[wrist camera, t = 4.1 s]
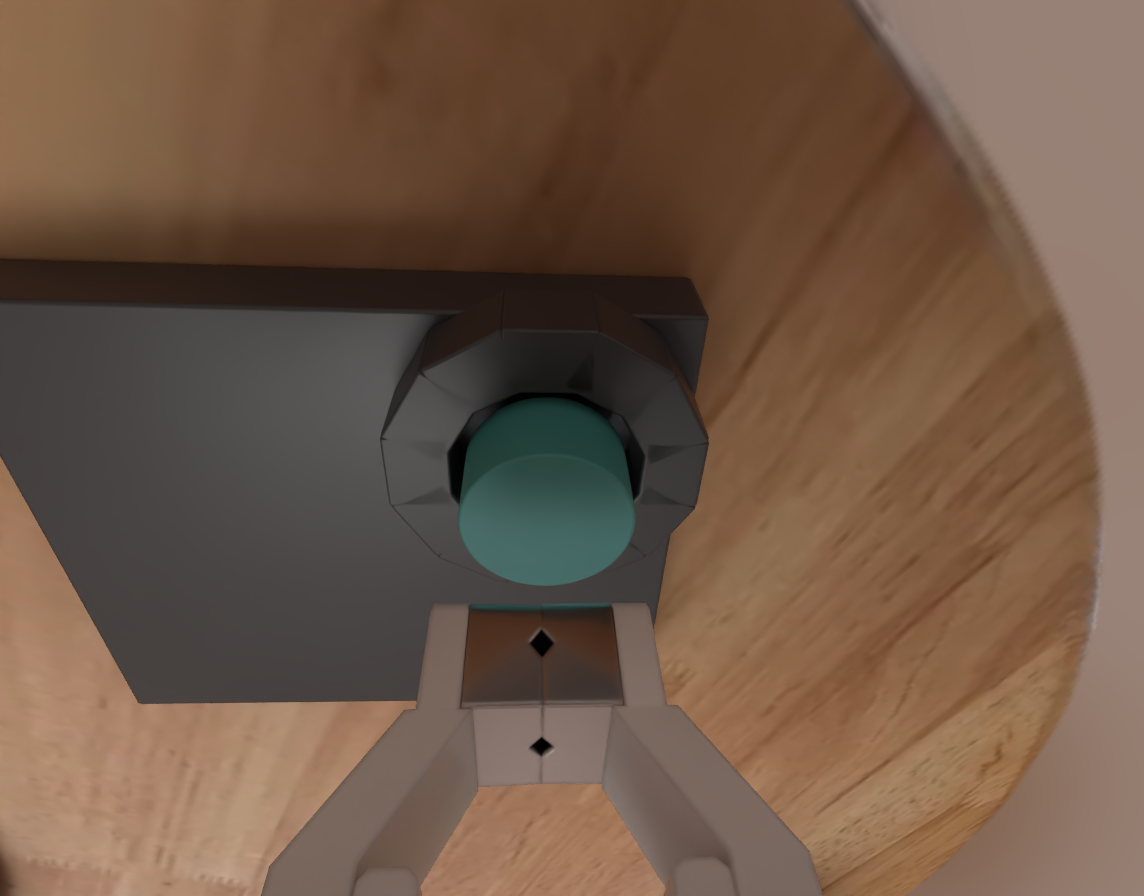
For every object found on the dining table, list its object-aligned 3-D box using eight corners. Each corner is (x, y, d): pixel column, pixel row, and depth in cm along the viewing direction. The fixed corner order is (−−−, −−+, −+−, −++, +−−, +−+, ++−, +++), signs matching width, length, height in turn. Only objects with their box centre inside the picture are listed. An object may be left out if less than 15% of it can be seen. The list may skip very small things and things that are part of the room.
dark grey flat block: (695, 255, 14) (735, 333, 11) (634, 645, 21) (649, 752, 18) (-31, 234, 13) (-186, 314, 10) (167, 648, 20) (108, 761, 18)
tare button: (632, 396, 12) (645, 455, 11) (617, 522, 14) (627, 586, 13) (462, 394, 12) (452, 453, 11) (469, 521, 14) (461, 587, 12)
